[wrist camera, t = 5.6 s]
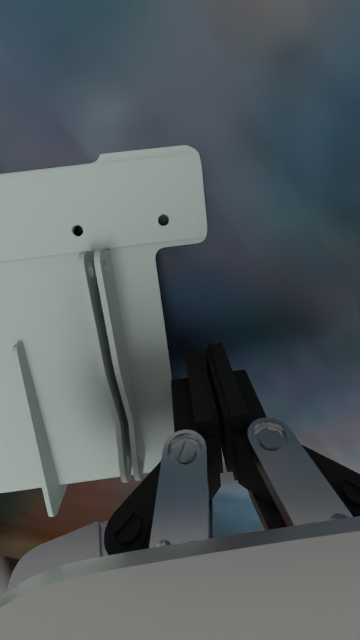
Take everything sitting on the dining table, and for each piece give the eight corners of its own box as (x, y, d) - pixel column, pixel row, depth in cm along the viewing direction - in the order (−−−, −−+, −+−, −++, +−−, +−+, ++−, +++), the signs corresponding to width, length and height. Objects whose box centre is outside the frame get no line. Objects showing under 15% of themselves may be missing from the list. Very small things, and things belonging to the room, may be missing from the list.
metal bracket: (241, 514, 10) (-161, 572, 10) (215, 424, 16) (-41, 458, 16) (202, 71, 7) (-384, 138, 7) (186, 157, 13) (-132, 195, 12)
